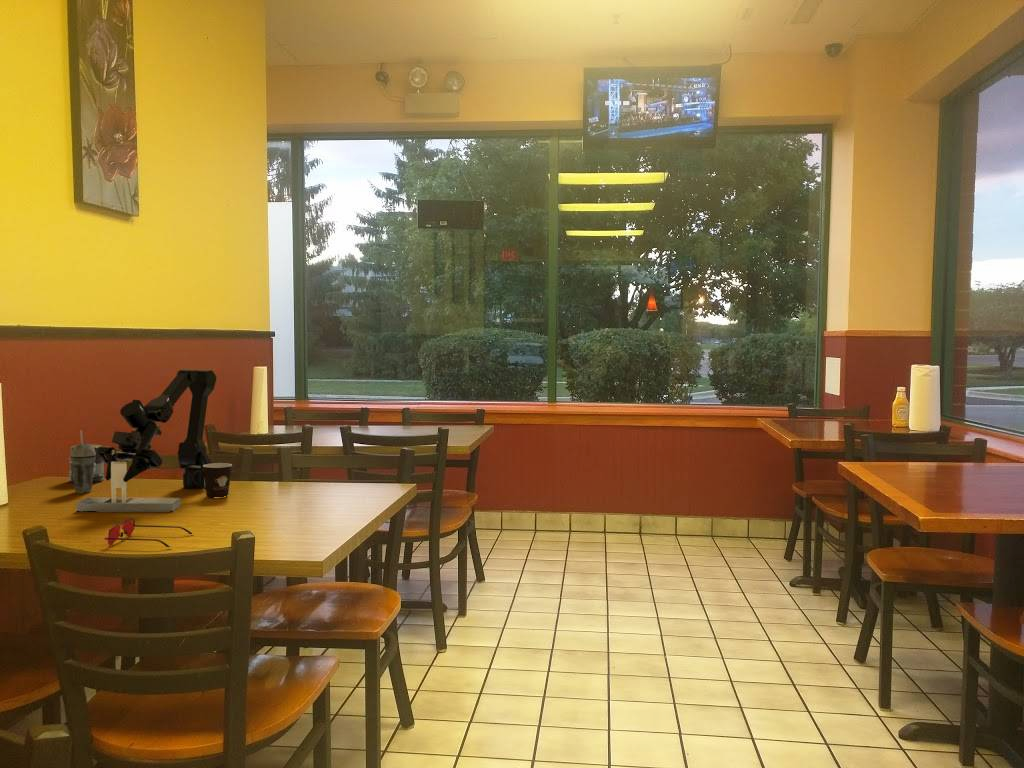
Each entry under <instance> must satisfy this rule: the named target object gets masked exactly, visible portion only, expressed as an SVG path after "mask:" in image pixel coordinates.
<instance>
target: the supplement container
mask: <svg viewBox="0 0 1024 768" xmlns="http://www.w3.org/2000/svg"><path fill="white" fill-rule="evenodd" d="M90 445H91V446H92V447H93V448H94V450H95V453H96V458H95V462H94V471H93V482H92V484H95V483H99V481H100V482H102V481H103V480H104V479H105V475H104V474H105V473H104V472H105V469H104V468H105V465H104V464H105V462H104V461H103V460H102V458H101V457H100V456H99V455H98V454H97V451H98V450H99V448H100V447H102V446H103V445H100V444H90ZM75 446H76V445H72V446H70V453H71V452H72V450H73V448H74V447H75ZM70 456H71V454H70V455H69V458H68V460H69V477H68V479H69V481H70V482H71V483H73V482H74V477H73V467H72V462H71V457H70ZM94 482H95V483H94Z"/></svg>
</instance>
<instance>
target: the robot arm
mask: <svg viewBox="0 0 1024 768" xmlns="http://www.w3.org/2000/svg"><path fill="white" fill-rule="evenodd" d="M216 382H217V374H215V372H214V371H213V370H212V369H188V368H187V369H185V368H184V369H183V368H182V369H179V370H178V371H177V373H176V375H175V377H174V378H173V379H172V380H171V382H170V383H169V384H168V386H167V387H166V388H165V389H164V390H163V391H162V393H161V394H160V395H159V396H158V397H156V398H153V399H151V400H150V401H149V402H147V403H146V404H145V405H143V403H142V401H141V400H140V399H133V400H132V401H131V402H129V403H128V402H127V403H126V404H124V405H123V406H122V407H121V408H120V410H119V411H120V412H119V413H120V415H121V417H122V418H123V419H124V420H125V422H126V423H127V424H128V425H129V427H130V428H131V429H134V430H131V431H130V432H128V431H113V436H112V438H111V443H113V444H117V445H118V446H117V448H118V449H119V450H121V451H117V450H116V449H115V447H114V446H107V445H105V446H103V445H101V446H102V447H100V448H99V450H98V451H97V454H98V455H99V456H100V457H101V458H102V460H103V461H104V464H106V465H107V468H106V472H105V476H104V479H105V480H106V481H110V480H111V462H121V460H126V461H131V464H130V466H129V468H128V469H127V473H126V475H125V477H124V479H123V481H124V482H127V483H128V481H130V480H132V479H133V478H135V477H136V476H139V475H140V474H142V473H143V472H145V471H147V470H151V468H152V469H153V468H154V469H160V467H161V466H162V464H163V458H162V457H161V455H160V454H159V453H158V452H157V450H156V449H152V445H151V442H152V441H153V440H154V438H155V436H162V430H161V426H159V425H157V423H159V424H160V423H161V424H163V423H164V424H165V423H168V421H170V418H171V417H172V416H173V413H174V406H175V404H176V403H177V401H178V400H179V399H180V398H181V396H182V395H183V394H184V393H185V391H187V389H188V388H189V391H190V393H191V401H190V403H191V404H190V410H189V417H188V425H187V432H186V437H185V439H184V440H183V442H182V441H181V442H179V444H178V452H177V458H178V463H179V469H181V470H184V472H183V474H182V485H183V487H182V488H183V489H203V488H202V487H200V486H198V485H197V484H196V483H194V481H193V480H192V475H193V473H195V472H196V471H202V472H204V470H203V465H206V464H213V463H212V460H211V459H210V458H209V455H208V454H207V446H206V444H205V442H204V439H203V438H204V431H205V430H204V429H205V422H206V415H207V408H208V407H207V406H208V398H209V397H210V395H211V393H212V392H213V391H215V390H214V389H215V387H216ZM194 480H195V481H196V482H197V483H198V484H200V485H202V486H204V487H205V479H204V476H203V474H202V473H197V474H195V476H194Z"/></svg>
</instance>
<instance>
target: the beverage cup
mask: <svg viewBox="0 0 1024 768" xmlns="http://www.w3.org/2000/svg"><path fill="white" fill-rule="evenodd" d="M79 433H80V436H79V437H80V443H78V444H76V445H74V446H75V447H74V448H73V450H72V452H71V451H70V455H71V456H70V455H69V456H70V457H71V462H72V467H73V477H74V483H73V486H74V492H78V493H77V494H85V493H84V492H90V491H91V492H92V489H93V483H92V482H93V471H94V462H95V458H96V453H95V450H94V448H93V447H92V446H91V445H92V444H89V443H84V442H83V441H84V440H83V430H82V429H80V430H79ZM91 492H90V493H91Z"/></svg>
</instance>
